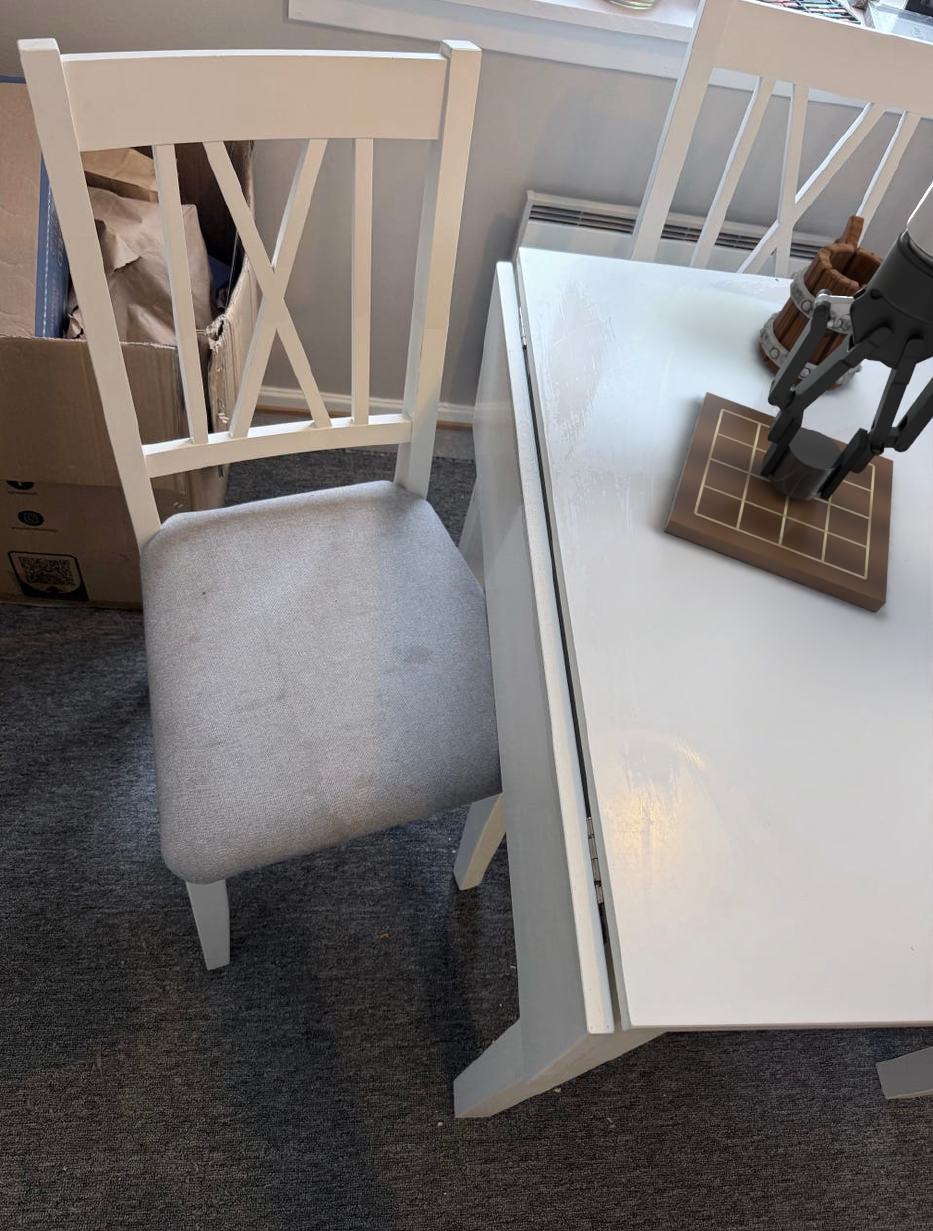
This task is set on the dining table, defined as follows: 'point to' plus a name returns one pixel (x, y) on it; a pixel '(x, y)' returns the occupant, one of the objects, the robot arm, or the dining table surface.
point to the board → (782, 510)
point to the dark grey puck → (806, 465)
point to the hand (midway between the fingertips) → (795, 478)
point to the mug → (830, 270)
